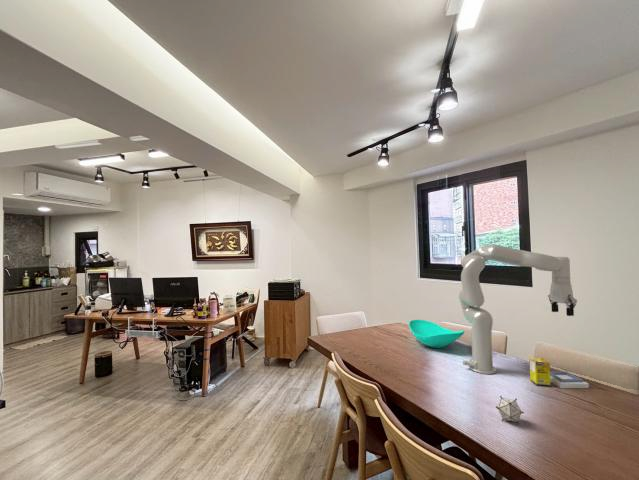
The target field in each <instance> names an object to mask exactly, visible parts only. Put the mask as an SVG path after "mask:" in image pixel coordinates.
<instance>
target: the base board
mask: <svg viewBox="0 0 639 480" xmlns="http://www.w3.org/2000/svg"><path fill="white" fill-rule="evenodd" d="M550 383H551V384H554V385H555V386H557V387H558V388H560V389H589V385H590V384H589V382H586V381H584V379H583V378H580V377H578V376H576V375H574V374H572V373H570V372H569V371H550Z"/></svg>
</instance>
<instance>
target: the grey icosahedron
mask: <svg viewBox="0 0 639 480" xmlns="http://www.w3.org/2000/svg"><path fill="white" fill-rule="evenodd" d="M499 397H500V399H499V403H498V405H497V406H495V408H496V409H498V412H499V414H500V416H501V418H502V419H501V422H503V421H509V422H510V421H511V422H514V423H516V424H518V425H520V423H519V420H520V417H521V415H522V414H525V412H524V411H522V409H521V408H520V406H519V404H518V402H517V400H518V399H517V398H515V399H510V398H504V397H502V395H499Z"/></svg>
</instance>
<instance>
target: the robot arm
mask: <svg viewBox="0 0 639 480" xmlns="http://www.w3.org/2000/svg"><path fill="white" fill-rule="evenodd" d="M488 261H495V262H499V263H502V264H506V265H507V264H508V265H513V266H517V267H529V268H533V269H536V270H538V271H544V272H551V283H550V288H549V294H548V295H547V297H548V301H549V303H550V306H551V312H552V313H559V304H565V306H566V312H565V313H566V316H567V317H574V316H575V309H574V308H575V307H576V306H577V303H578V300H577V298H575V297H574V294H573V292H574V291H573V287H572V283H571V264H570V263H571V260H570V258H569V257H567V256H553V255H550V254H548V255H547V254H544V253H538V252H533V251H528V250H523V249H518V248H513V247H508V246H504V245H501V244H500V245H498V244H485V245H482V246H481V247H479V248H477V249H475V250H473V251H471V252H469V253H468V254H466V255H465V256H463V258H461V260H460V263H461V266H462V270H461V273H460V281H461V285H462V286H461V287H462V289H461V290H460V292H459V293H458V294H459V295H458V298H459V299H458V300H459V303H460V306H461V310H462V312H463V316H464V317H465V319H466V320H467V321H468V322H469V323H470V324H472V325H471V326H472V327H471V332H470V336H471V337H470V339H471V342H470V343H471V358H470V359H469V361H467V360H464V361H462V365H463V366H467V367H469V369H470V370H471V371H473V372H475V373H479V374H483V375H493V374H495V373H497V368H496V367H495V366H494V365H493V363H494V362H493V341H492V339H493V337H492V333H493V332H492V329H493V324H494V320H493V317H492V314H491V313H490V312H489V311H487V310H486V309H483V308H482V306H483V305H484V303H485V296H484V293H483V290H482V287H481V283H480V275H481V274H480V273H481V272H482V271H483V270H484V268H485V267H486V262H488Z"/></svg>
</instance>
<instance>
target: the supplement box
mask: <svg viewBox="0 0 639 480" xmlns="http://www.w3.org/2000/svg"><path fill="white" fill-rule="evenodd" d="M528 360H529V378H530V382H532V383H533V384H534V385H536V386H537V387H538V386H539V387H551V382H550V372H551V368H550V367H551V366H550V362H549V361H548V360H546V359H545V358H543V357H542V358H540V357H529V359H528Z"/></svg>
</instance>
